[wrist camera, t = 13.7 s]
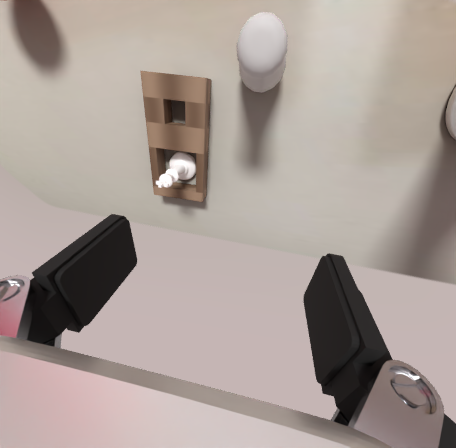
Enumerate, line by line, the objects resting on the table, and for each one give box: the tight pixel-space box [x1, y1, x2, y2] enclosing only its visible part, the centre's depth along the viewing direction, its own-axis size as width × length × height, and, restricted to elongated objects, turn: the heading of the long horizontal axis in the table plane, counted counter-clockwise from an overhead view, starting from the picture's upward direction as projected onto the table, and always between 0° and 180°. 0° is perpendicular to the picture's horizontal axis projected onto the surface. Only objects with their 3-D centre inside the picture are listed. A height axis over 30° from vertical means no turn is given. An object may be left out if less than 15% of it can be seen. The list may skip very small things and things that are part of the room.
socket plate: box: [141, 71, 211, 202], centre depth 33 cm, size 9×18×3 cm, turn 175°
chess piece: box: [156, 152, 196, 188], centre depth 32 cm, size 5×5×10 cm
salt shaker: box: [237, 12, 288, 93], centre depth 22 cm, size 6×6×13 cm
